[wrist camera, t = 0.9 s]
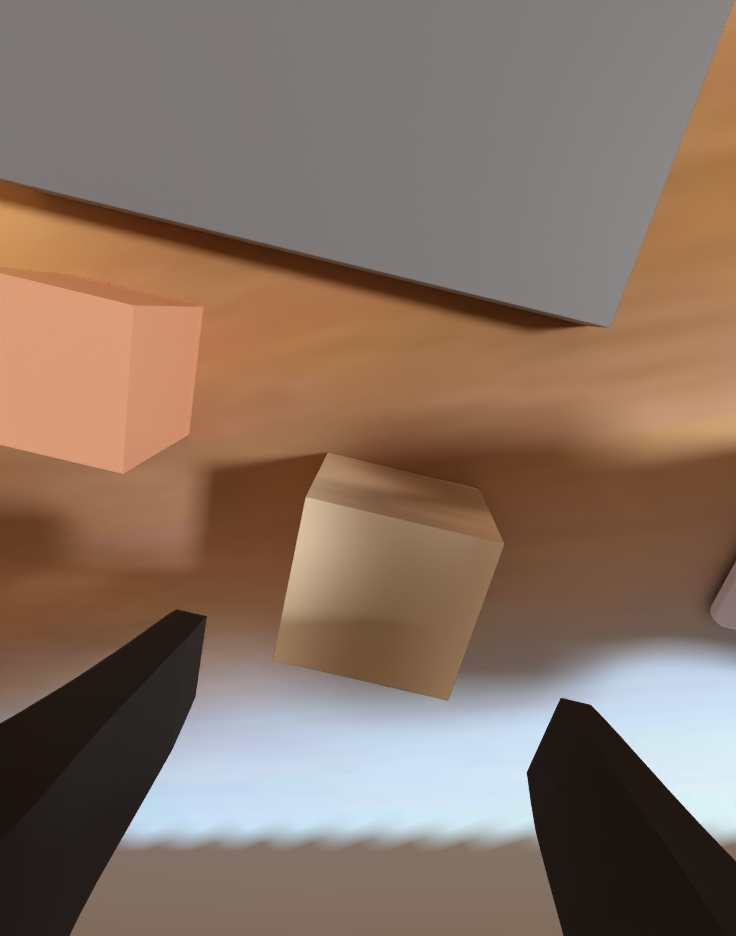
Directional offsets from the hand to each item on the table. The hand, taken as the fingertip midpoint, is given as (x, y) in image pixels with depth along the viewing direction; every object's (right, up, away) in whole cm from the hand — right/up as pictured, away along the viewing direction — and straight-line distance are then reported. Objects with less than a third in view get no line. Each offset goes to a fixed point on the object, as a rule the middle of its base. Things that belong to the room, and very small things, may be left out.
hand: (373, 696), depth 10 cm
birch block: (+1, +2, +7) cm, 7 cm away
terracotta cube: (-7, +8, +5) cm, 12 cm away
